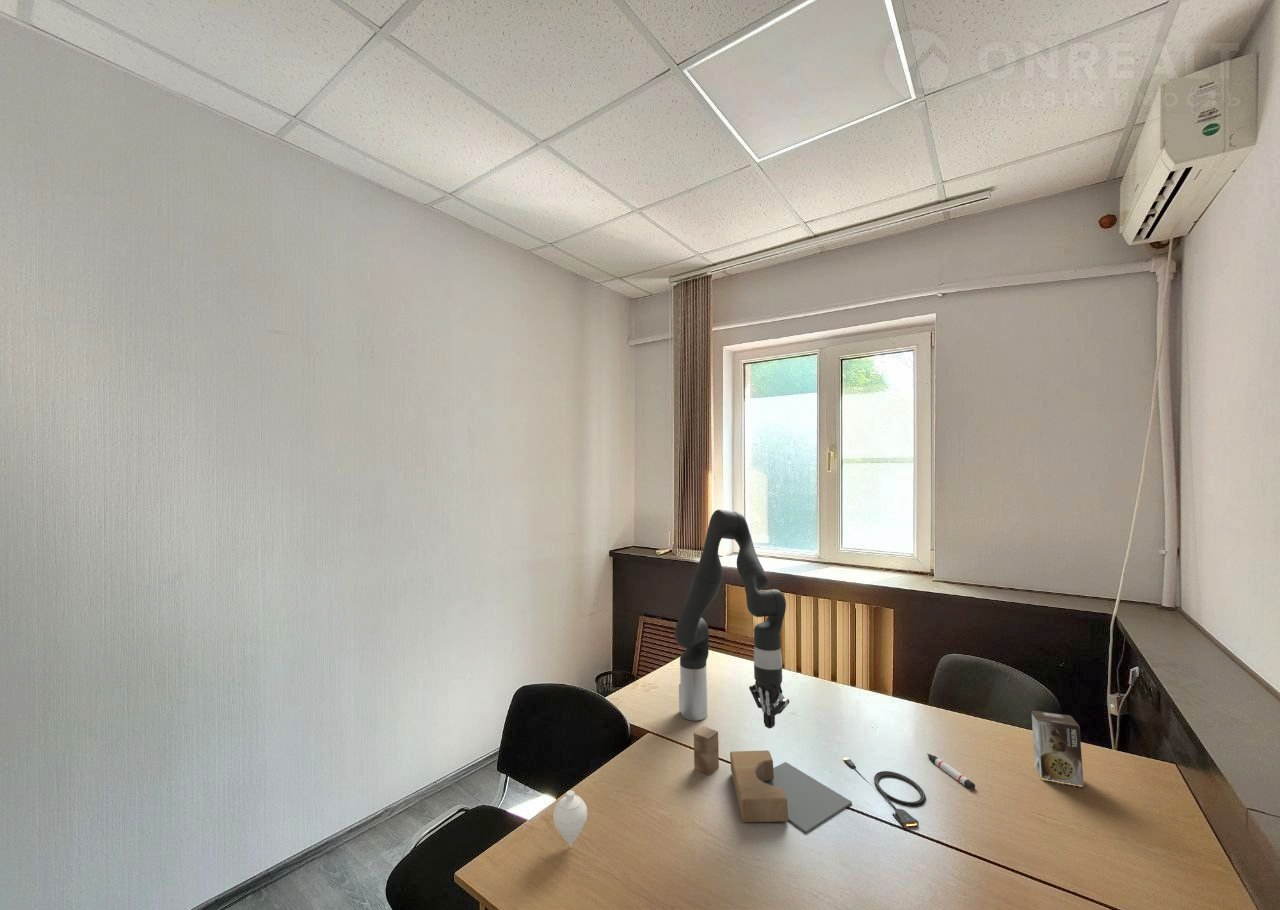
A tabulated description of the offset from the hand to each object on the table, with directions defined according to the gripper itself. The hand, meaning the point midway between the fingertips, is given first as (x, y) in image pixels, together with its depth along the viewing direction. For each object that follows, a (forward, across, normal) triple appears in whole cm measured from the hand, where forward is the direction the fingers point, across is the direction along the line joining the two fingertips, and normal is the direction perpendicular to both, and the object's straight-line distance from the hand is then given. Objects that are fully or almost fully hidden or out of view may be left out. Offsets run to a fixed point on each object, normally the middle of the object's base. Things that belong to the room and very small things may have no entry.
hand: (769, 726), depth 134 cm
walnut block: (+14, -14, -11) cm, 23 cm away
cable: (+15, +21, +24) cm, 35 cm away
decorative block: (+10, -5, -2) cm, 12 cm away
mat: (+14, +8, 0) cm, 16 cm away
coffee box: (+14, +44, +64) cm, 79 cm away
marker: (+15, +26, +43) cm, 52 cm away
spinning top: (+14, -9, -56) cm, 58 cm away
